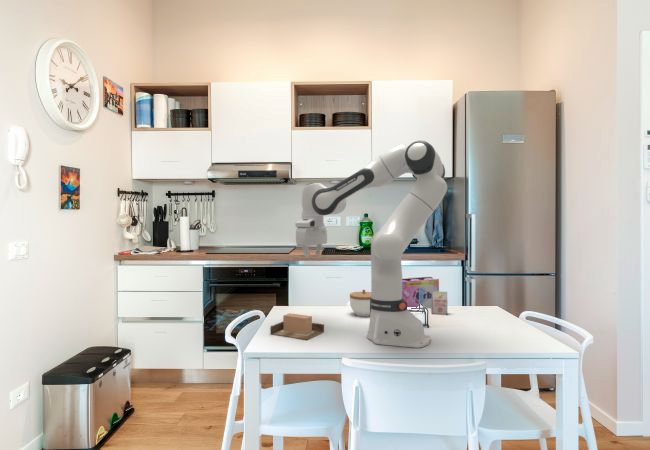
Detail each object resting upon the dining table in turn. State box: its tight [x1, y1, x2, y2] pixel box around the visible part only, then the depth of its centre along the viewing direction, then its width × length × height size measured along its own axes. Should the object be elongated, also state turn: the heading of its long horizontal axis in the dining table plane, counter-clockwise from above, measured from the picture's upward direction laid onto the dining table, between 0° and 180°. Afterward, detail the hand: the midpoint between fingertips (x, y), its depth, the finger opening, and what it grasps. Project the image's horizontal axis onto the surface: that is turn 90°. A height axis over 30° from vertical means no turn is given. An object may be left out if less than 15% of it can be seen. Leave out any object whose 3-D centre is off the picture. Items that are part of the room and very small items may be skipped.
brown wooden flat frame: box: [270, 321, 325, 341], centre depth 153 cm, size 16×12×3 cm
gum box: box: [402, 276, 440, 309], centre depth 198 cm, size 24×8×14 cm, turn 111°
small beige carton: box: [430, 290, 449, 316], centre depth 184 cm, size 4×7×10 cm, turn 79°
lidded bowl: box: [349, 289, 371, 317], centre depth 182 cm, size 13×13×11 cm
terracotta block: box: [282, 312, 313, 335], centre depth 153 cm, size 4×10×6 cm, turn 61°
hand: (312, 255), depth 169 cm, fingers open, 8 cm apart
